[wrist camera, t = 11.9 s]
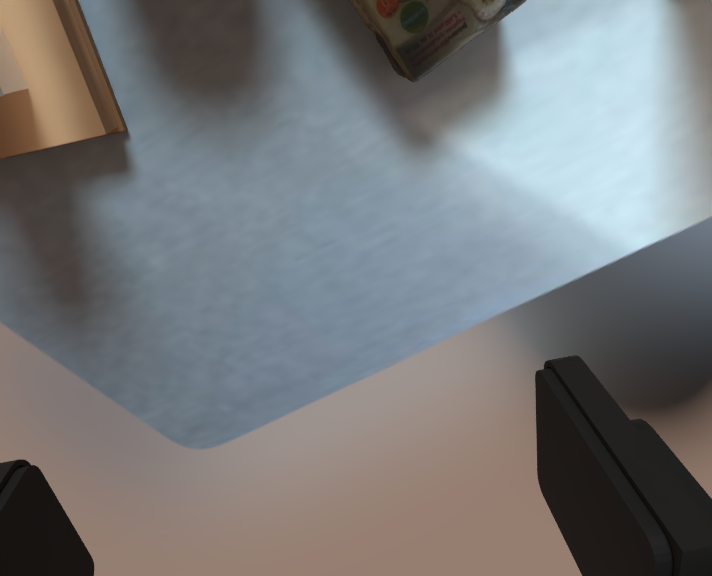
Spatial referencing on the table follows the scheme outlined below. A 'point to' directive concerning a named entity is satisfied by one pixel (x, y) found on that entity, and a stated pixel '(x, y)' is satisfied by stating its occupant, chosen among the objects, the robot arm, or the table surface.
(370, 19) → the beverage carton
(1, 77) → the slim carton
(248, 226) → the table surface
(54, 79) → the plinth
